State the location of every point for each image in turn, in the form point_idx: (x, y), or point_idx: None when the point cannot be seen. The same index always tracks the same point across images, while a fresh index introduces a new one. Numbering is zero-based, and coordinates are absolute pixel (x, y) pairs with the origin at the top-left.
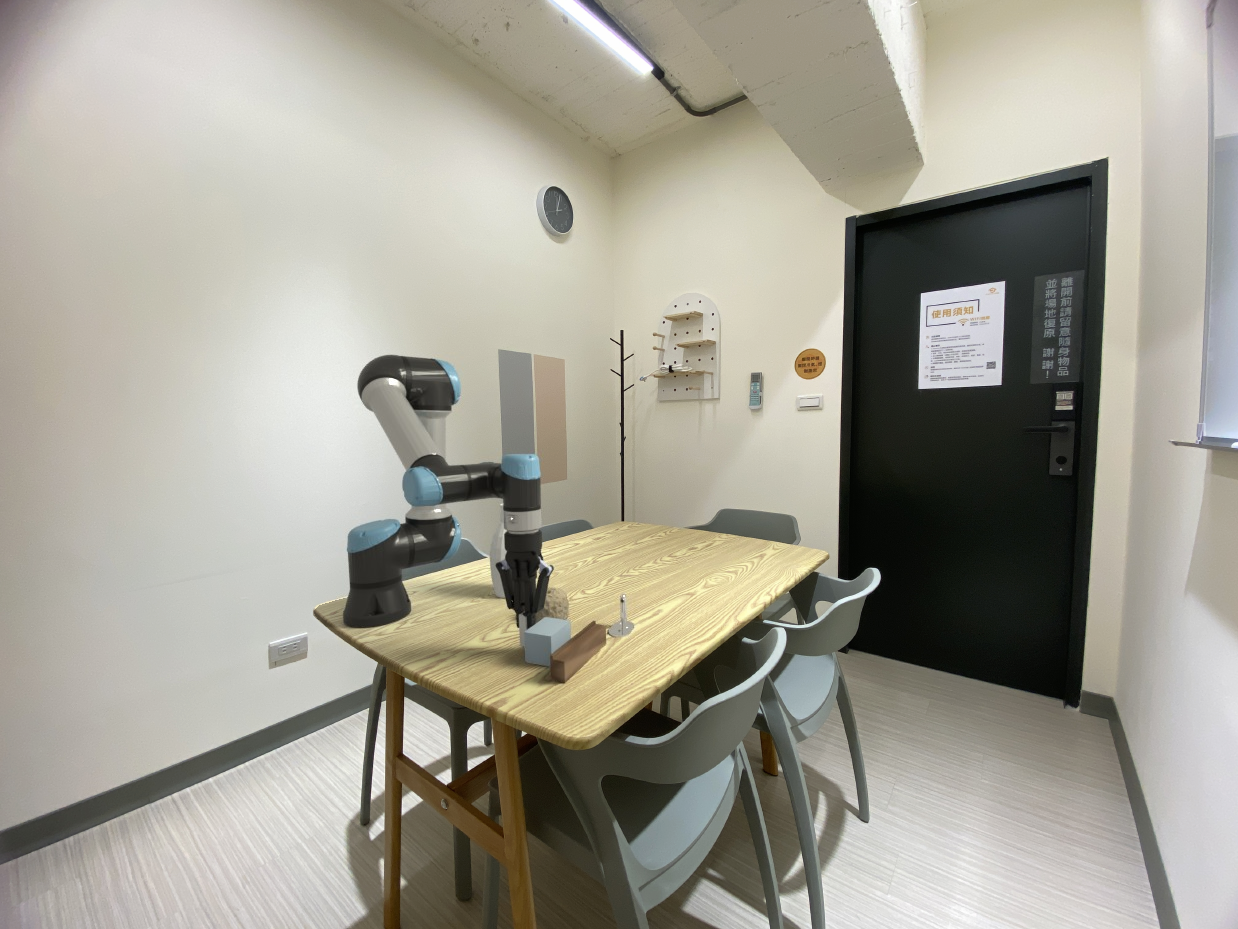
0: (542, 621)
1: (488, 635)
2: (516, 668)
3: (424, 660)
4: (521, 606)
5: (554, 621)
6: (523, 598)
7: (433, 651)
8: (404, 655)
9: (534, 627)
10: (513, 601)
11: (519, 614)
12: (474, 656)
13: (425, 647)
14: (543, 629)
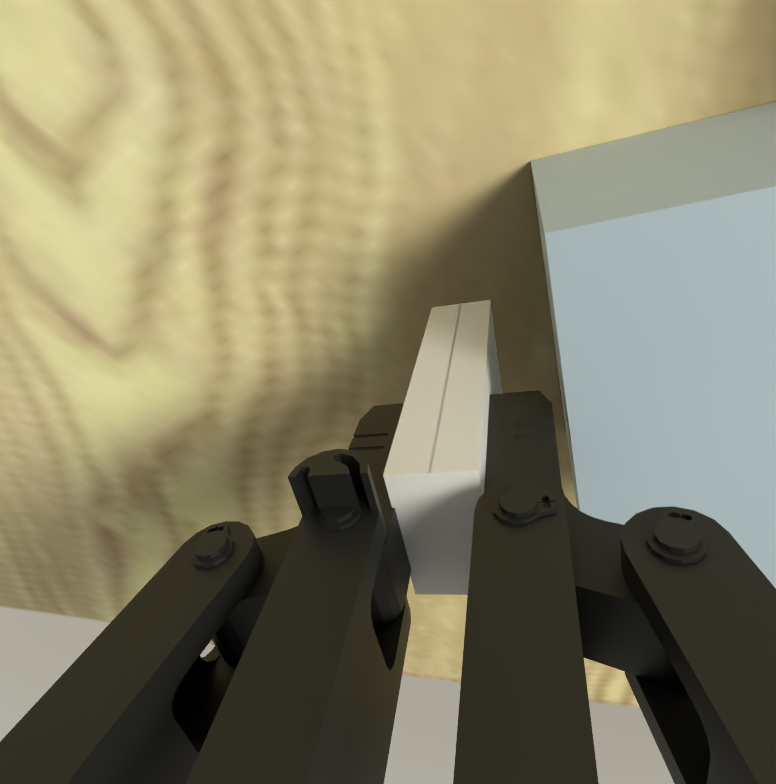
0: (605, 358)
1: (53, 279)
2: (569, 499)
3: (136, 586)
4: (372, 602)
5: (773, 284)
6: (362, 694)
7: (73, 529)
8: (38, 586)
9: (621, 505)
10: (221, 633)
11: (417, 588)
12: (262, 494)
13: (9, 518)
14: (751, 504)
